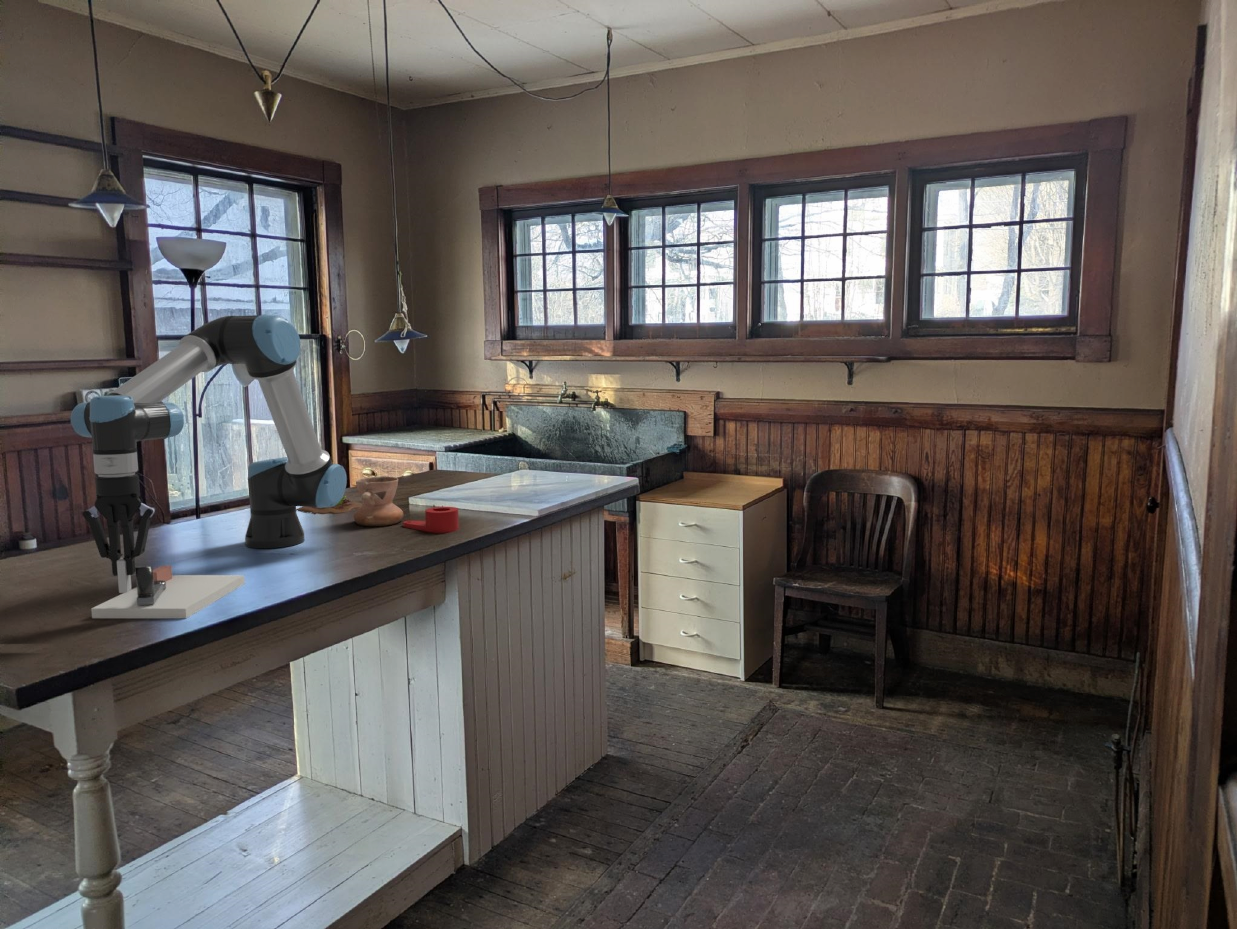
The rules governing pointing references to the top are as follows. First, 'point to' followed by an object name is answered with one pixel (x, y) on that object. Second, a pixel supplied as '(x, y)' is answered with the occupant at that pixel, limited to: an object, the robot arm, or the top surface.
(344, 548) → the top surface
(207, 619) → the top surface
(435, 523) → the lever
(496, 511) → the top surface
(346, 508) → the plant
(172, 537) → the top surface
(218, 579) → the board
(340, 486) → the robot arm
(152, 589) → the swing bar
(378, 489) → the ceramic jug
